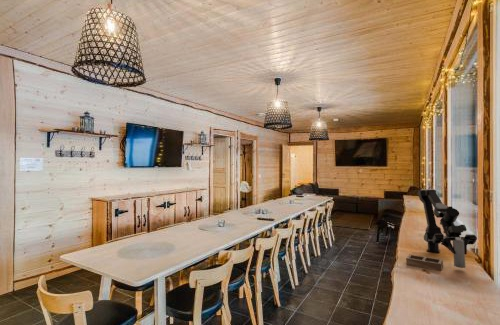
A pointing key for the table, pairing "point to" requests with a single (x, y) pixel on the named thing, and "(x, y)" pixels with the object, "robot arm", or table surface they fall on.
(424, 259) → the box
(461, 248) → the slate plug
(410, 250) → the table surface
